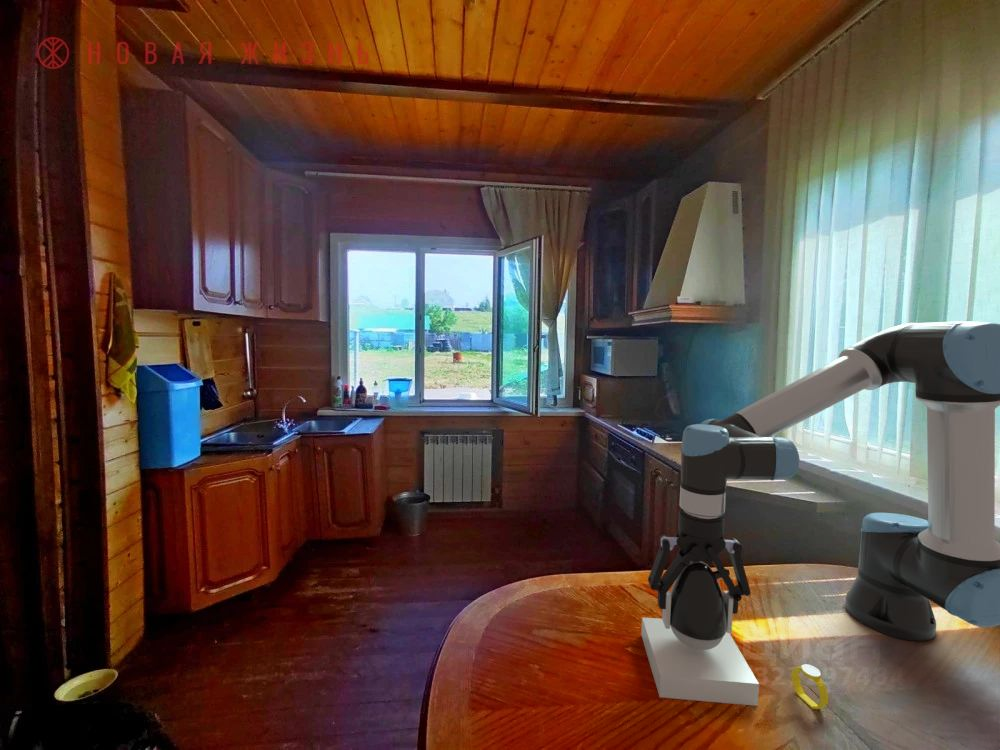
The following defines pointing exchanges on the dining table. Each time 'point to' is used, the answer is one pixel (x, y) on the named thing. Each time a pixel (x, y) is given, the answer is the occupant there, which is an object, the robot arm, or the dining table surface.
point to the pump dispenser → (698, 607)
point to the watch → (816, 676)
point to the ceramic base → (698, 668)
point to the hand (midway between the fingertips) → (696, 626)
